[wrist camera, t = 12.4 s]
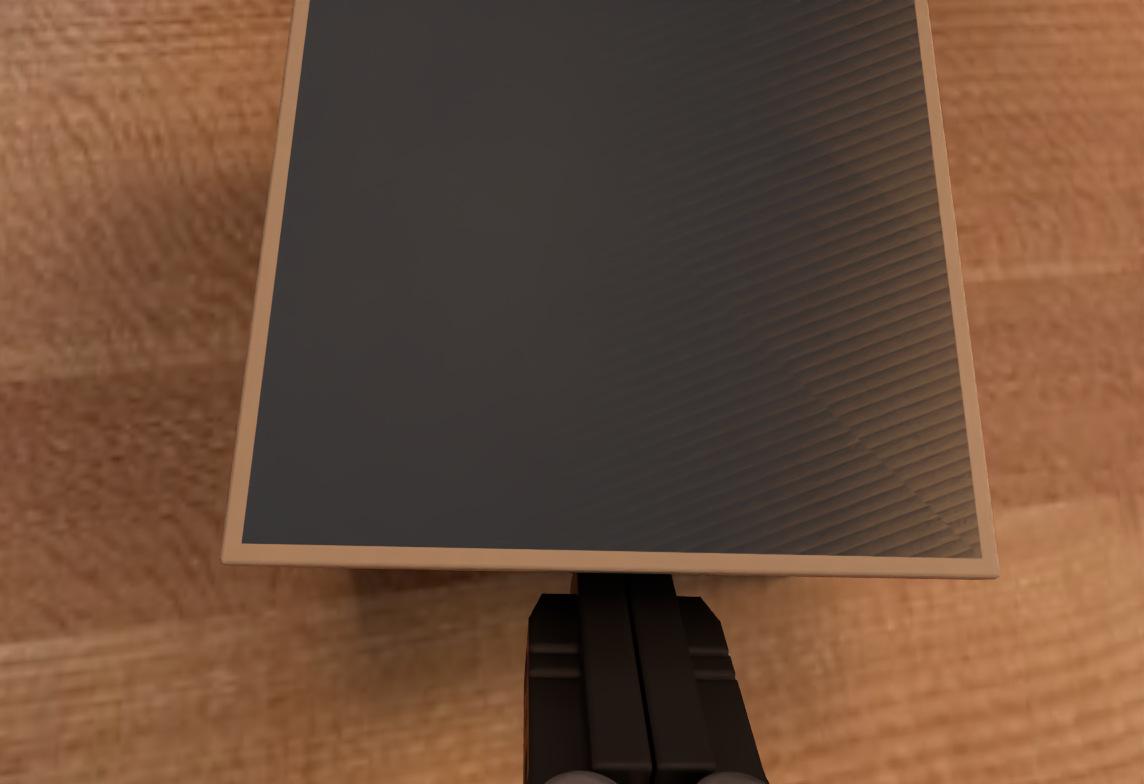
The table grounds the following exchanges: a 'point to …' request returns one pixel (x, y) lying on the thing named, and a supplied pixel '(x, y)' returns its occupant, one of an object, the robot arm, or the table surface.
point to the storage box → (611, 296)
